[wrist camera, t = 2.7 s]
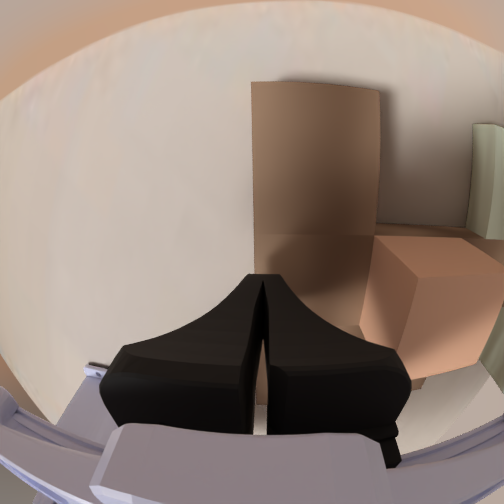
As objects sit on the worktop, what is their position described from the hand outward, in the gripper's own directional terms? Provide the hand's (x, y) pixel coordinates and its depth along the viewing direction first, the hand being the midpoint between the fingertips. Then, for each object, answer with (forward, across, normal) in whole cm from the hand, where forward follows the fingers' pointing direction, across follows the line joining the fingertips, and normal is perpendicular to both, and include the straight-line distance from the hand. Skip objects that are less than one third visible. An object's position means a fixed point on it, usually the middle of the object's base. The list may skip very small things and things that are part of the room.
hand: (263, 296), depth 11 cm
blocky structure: (+3, -9, 0) cm, 10 cm away
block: (+1, -7, 0) cm, 7 cm away
